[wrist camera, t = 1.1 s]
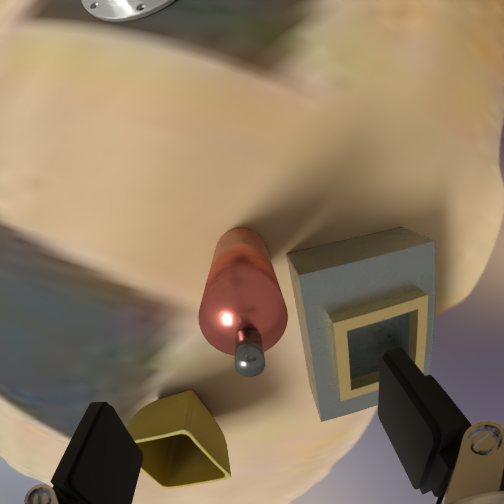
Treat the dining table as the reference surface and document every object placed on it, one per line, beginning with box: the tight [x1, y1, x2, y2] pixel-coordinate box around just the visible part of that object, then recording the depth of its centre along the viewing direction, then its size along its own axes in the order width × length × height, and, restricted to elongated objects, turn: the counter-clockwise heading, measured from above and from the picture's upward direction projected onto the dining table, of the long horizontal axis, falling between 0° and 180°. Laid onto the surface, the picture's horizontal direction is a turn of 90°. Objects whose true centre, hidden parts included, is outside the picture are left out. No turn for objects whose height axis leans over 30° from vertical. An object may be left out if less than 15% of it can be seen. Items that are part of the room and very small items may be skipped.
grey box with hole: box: [287, 227, 436, 422], centre depth 27 cm, size 16×12×8 cm
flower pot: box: [126, 390, 231, 489], centre depth 29 cm, size 9×9×9 cm
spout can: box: [199, 228, 288, 377], centre depth 21 cm, size 5×5×15 cm
